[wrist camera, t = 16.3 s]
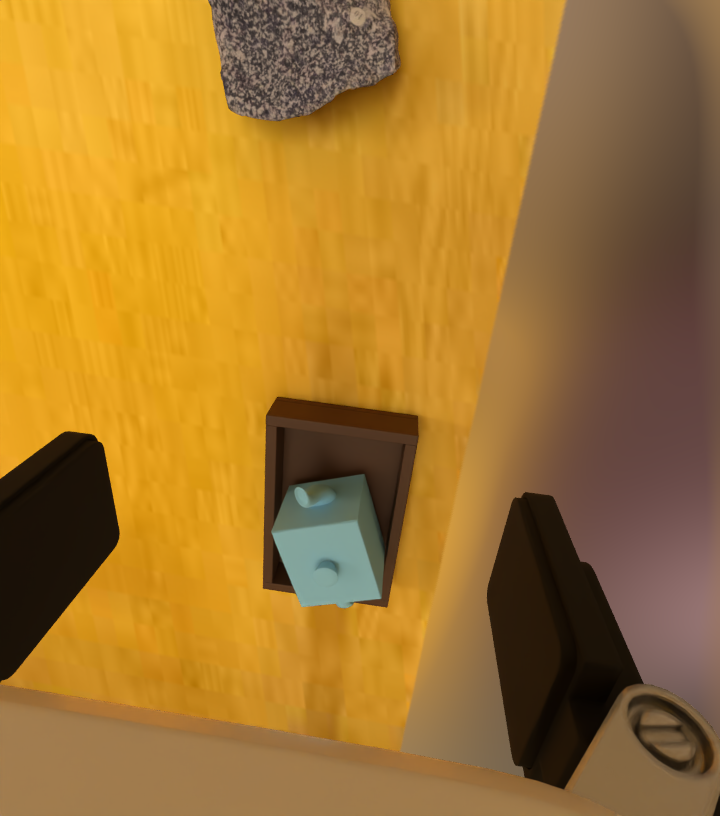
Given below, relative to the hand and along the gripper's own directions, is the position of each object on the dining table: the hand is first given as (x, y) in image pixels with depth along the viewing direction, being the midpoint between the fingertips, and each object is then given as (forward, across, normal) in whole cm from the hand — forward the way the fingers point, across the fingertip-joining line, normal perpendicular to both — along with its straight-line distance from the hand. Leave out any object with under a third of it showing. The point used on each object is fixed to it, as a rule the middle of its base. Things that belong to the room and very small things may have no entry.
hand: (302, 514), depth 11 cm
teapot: (+22, +2, +17) cm, 28 cm away
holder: (+23, +2, +17) cm, 29 cm away
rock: (+24, +6, -15) cm, 28 cm away
